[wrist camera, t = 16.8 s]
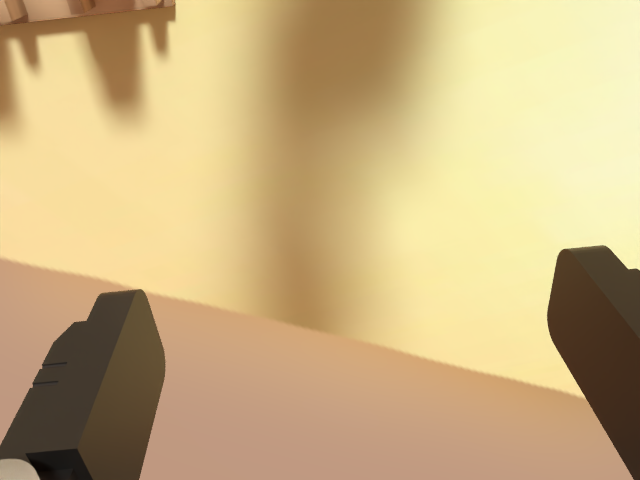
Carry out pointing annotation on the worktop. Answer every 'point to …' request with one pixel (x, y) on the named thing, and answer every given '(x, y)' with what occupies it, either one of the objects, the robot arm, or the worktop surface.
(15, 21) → the dish rack
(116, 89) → the worktop surface
